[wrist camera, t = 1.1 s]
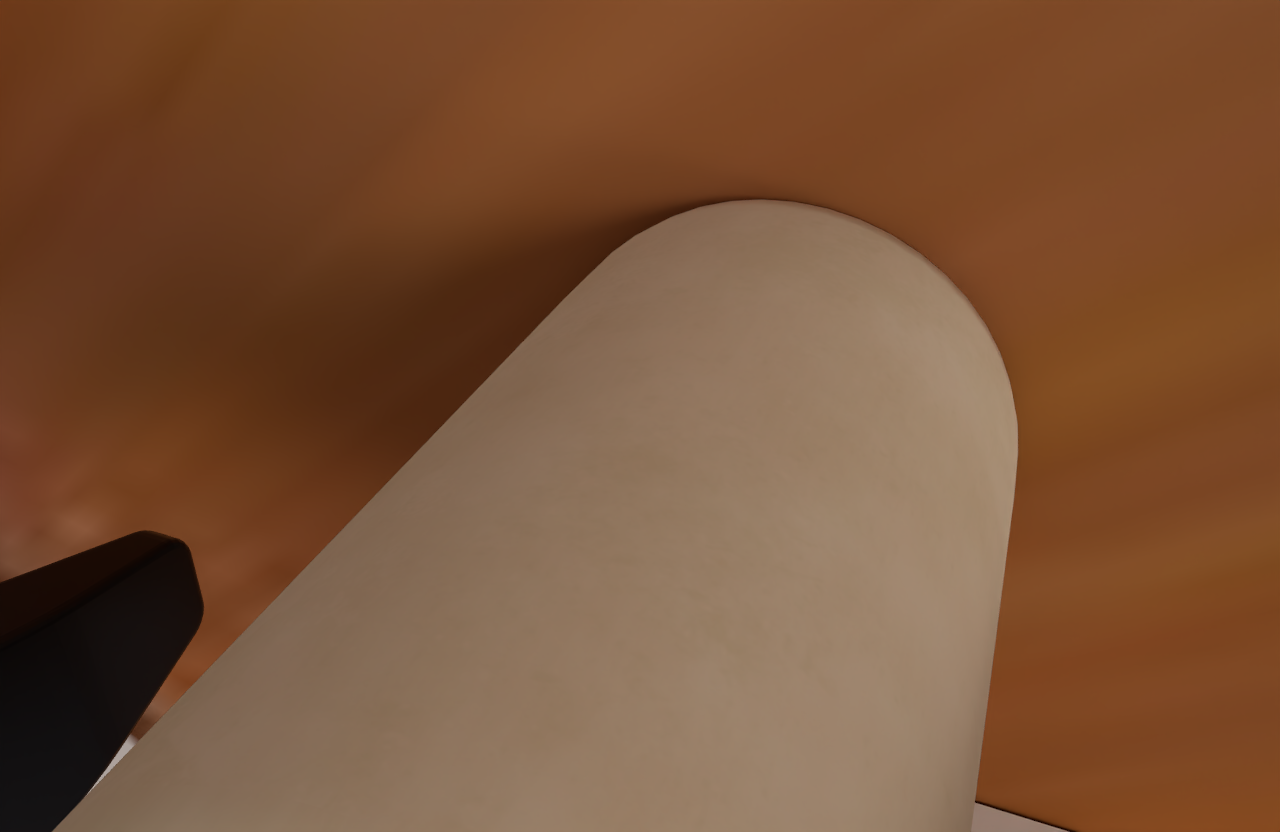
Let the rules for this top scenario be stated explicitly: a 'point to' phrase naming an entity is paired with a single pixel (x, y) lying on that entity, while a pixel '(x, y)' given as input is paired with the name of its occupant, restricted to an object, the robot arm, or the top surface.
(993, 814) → the candle tray
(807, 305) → the candle
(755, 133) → the top surface
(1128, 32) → the top surface
